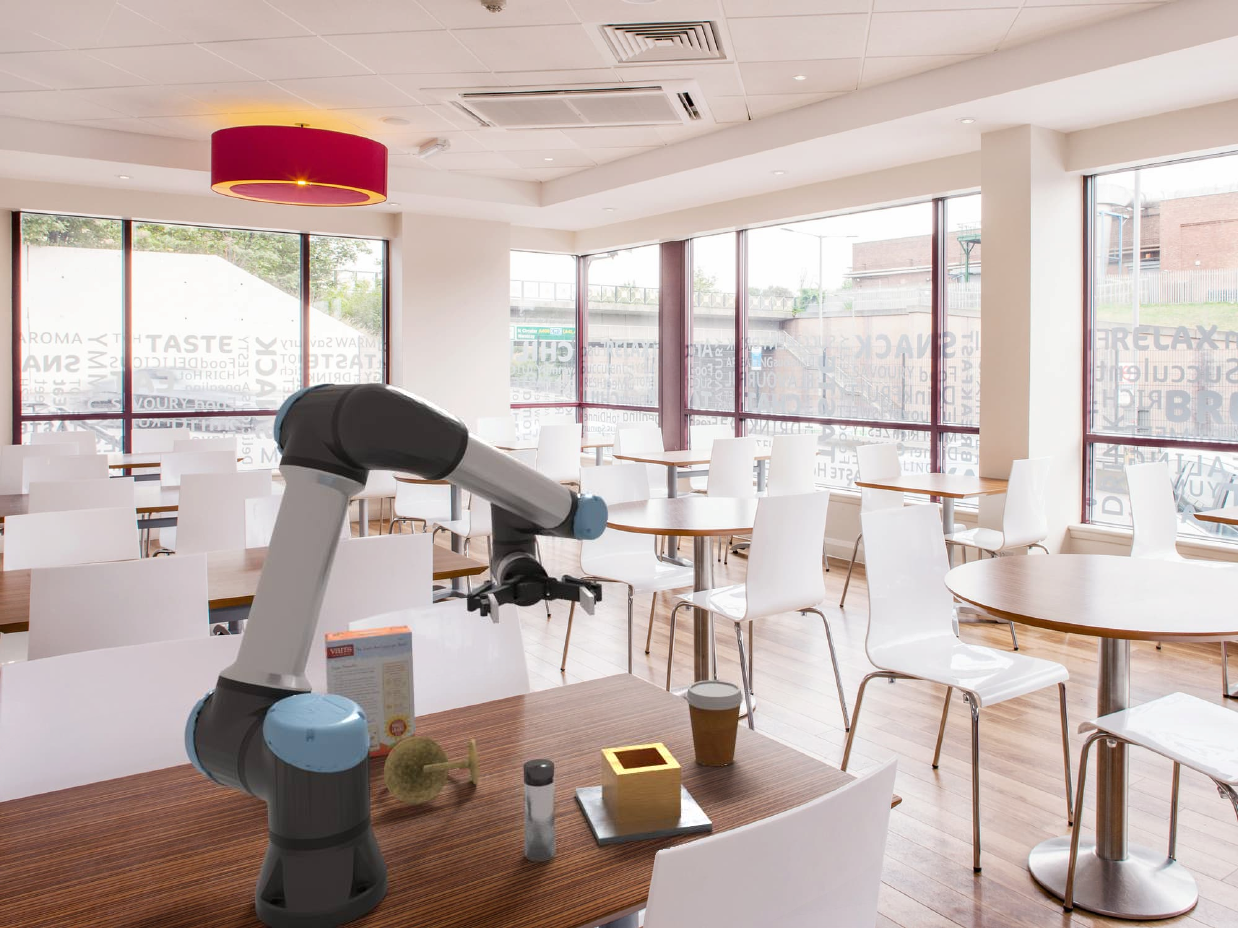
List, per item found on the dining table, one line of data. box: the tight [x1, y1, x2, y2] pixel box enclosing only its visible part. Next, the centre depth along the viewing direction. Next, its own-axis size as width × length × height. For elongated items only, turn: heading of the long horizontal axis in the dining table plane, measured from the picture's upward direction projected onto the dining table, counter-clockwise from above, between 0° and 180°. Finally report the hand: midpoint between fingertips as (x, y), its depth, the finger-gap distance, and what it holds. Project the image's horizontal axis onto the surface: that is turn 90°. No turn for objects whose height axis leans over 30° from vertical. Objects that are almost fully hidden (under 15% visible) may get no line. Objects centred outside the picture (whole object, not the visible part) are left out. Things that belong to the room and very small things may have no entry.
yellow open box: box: [574, 742, 713, 846], centre depth 129 cm, size 16×16×8 cm
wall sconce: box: [383, 736, 479, 805], centre depth 132 cm, size 14×10×25 cm
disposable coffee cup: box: [685, 679, 744, 767], centre depth 147 cm, size 10×10×12 cm
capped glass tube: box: [522, 758, 557, 863], centre depth 117 cm, size 4×4×12 cm
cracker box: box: [324, 624, 416, 758], centre depth 152 cm, size 14×6×21 cm, turn 111°
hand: (544, 609), depth 125 cm, fingers open, 13 cm apart
